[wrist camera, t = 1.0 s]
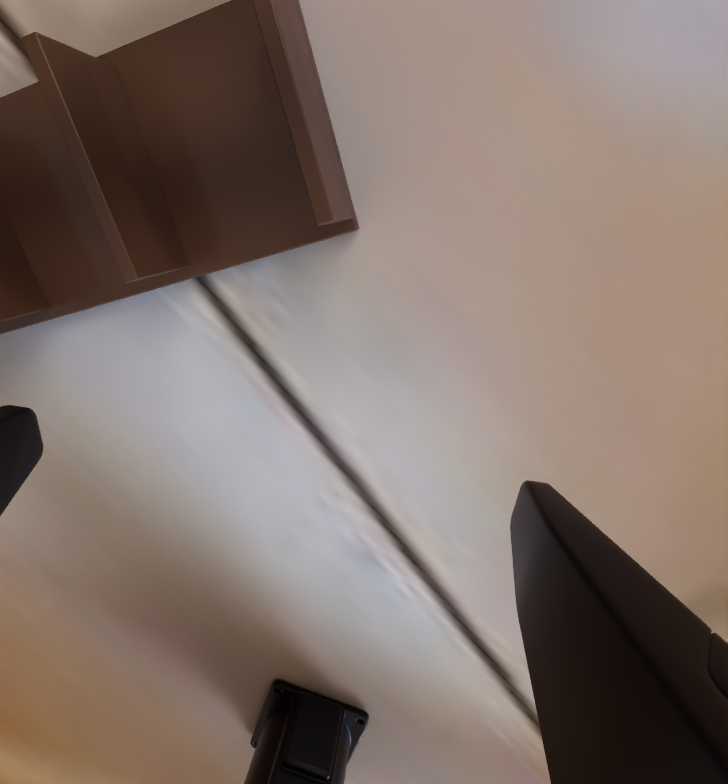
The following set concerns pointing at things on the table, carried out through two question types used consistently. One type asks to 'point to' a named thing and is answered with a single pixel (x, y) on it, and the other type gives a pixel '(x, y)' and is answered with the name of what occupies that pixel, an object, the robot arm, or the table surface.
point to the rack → (164, 160)
